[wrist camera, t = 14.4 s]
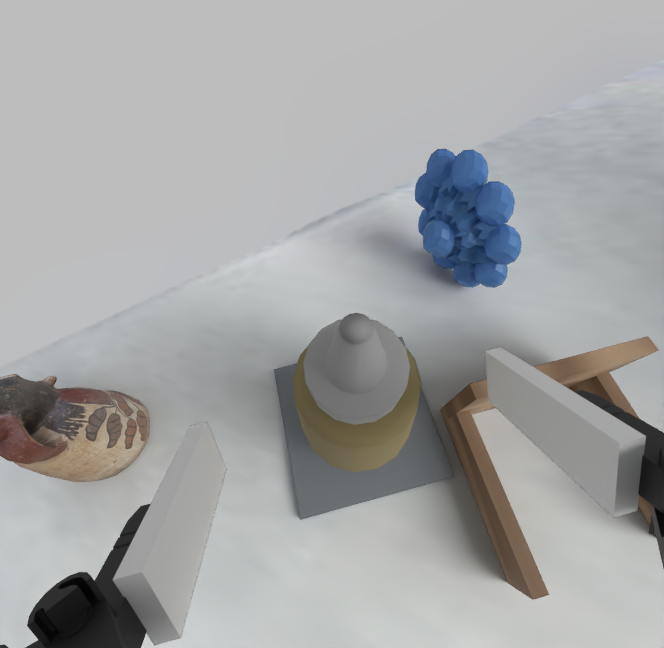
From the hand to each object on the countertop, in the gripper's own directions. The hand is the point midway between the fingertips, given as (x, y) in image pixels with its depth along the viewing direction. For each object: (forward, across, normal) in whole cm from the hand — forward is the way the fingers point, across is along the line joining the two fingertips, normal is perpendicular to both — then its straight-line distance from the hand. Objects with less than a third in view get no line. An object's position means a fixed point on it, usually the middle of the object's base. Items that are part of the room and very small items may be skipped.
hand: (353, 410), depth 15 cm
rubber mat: (+10, 0, -8) cm, 13 cm away
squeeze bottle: (+10, 0, -8) cm, 13 cm away
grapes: (+19, +13, +1) cm, 23 cm away
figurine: (+13, -20, -5) cm, 25 cm away
